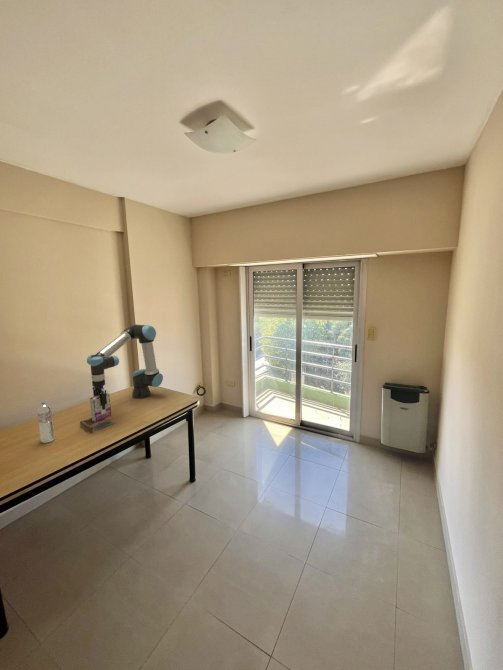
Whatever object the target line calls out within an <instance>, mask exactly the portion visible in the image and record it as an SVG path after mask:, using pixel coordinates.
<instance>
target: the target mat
mask: <svg viewBox="0 0 503 670" xmlns="http://www.w3.org/2000/svg"><path fill="white" fill-rule="evenodd" d="M113 424H115V422H114V421H112V420H110V419H107V420H105V421H102V422H100V423H98V424H94V425H91V426H92V427H93V431H95V432H96V431H99V430H101V429H105V428H106V427H109V426H111V425H113Z"/></svg>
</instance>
